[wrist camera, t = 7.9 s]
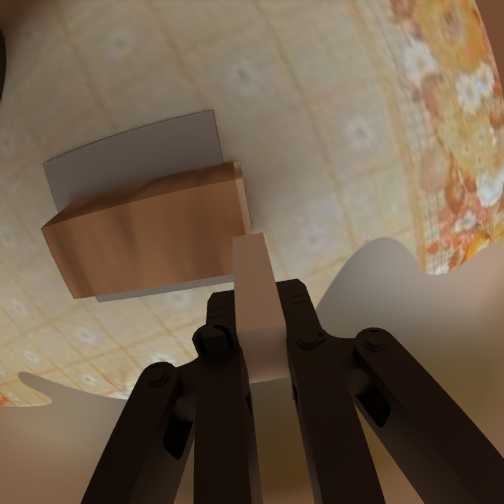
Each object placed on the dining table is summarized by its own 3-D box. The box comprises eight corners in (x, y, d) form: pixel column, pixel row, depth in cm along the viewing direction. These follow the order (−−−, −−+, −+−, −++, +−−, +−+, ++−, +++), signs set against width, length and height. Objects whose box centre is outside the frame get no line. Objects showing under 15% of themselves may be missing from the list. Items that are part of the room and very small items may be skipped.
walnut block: (252, 235, 23) (95, 264, 23) (239, 160, 20) (71, 202, 20) (258, 269, 19) (74, 299, 19) (242, 178, 16) (40, 228, 16)
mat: (100, 298, 26) (98, 302, 25) (46, 162, 19) (42, 163, 18) (245, 275, 26) (245, 279, 25) (213, 109, 19) (212, 109, 18)
